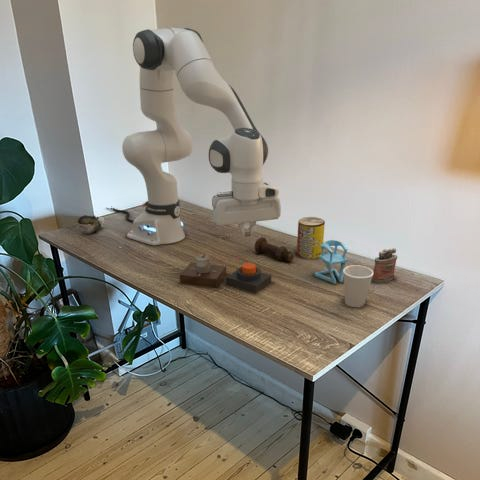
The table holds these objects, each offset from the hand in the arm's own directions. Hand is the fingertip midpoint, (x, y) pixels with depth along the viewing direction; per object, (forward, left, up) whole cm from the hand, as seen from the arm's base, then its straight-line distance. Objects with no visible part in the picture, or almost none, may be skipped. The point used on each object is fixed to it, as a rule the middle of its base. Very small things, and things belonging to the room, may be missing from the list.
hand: (246, 235), depth 148 cm
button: (+1, -1, -11) cm, 11 cm away
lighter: (+38, +20, -16) cm, 46 cm away
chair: (+23, +14, -16) cm, 31 cm away
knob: (-13, -4, -12) cm, 19 cm away
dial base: (-13, -4, -15) cm, 21 cm away
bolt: (0, +22, -16) cm, 27 cm away
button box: (+1, -1, -15) cm, 15 cm away
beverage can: (+10, +30, -16) cm, 36 cm away
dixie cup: (+34, +1, -16) cm, 37 cm away
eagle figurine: (-76, +16, -16) cm, 79 cm away
